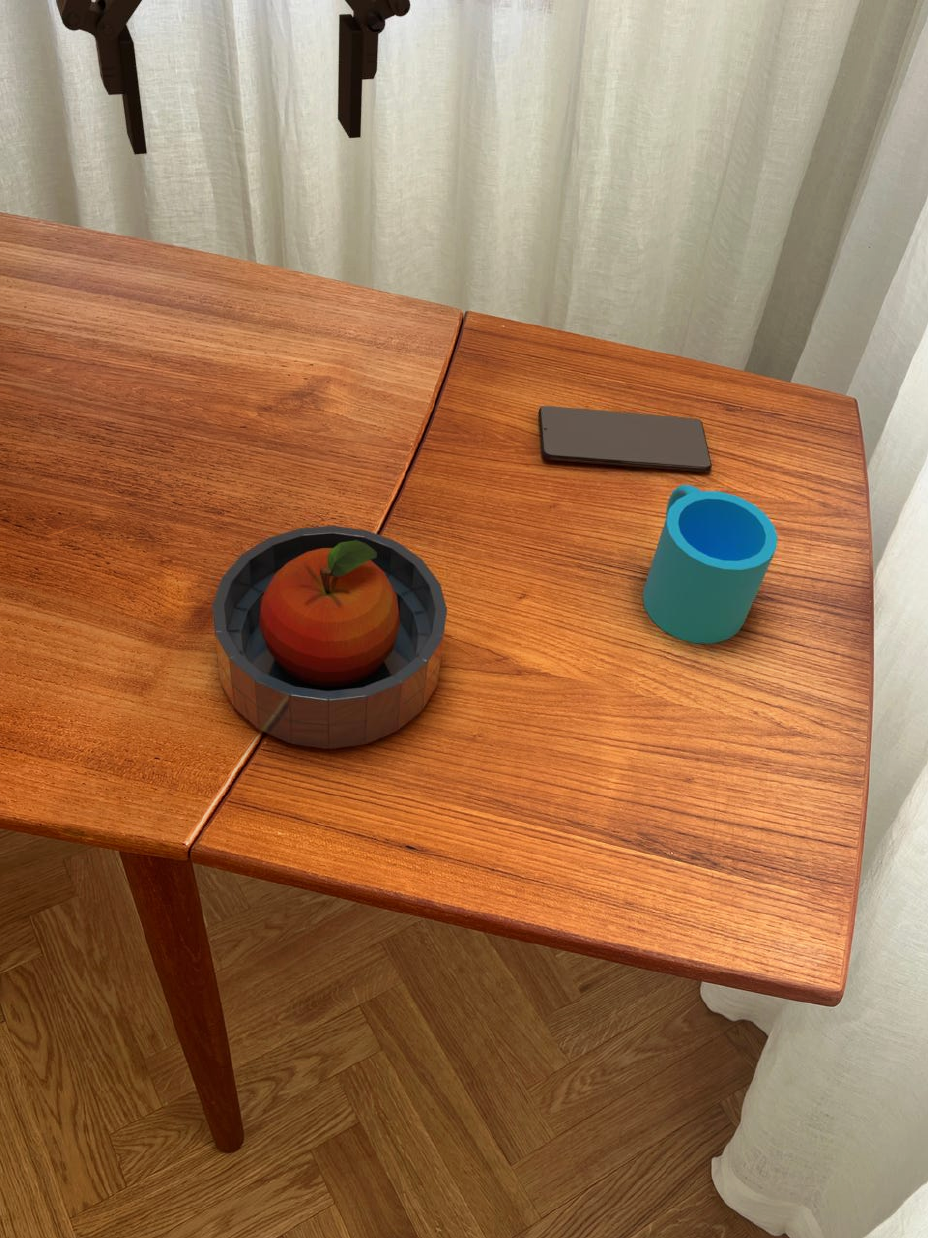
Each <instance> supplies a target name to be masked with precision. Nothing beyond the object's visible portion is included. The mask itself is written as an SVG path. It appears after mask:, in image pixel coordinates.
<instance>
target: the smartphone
mask: <svg viewBox="0 0 928 1238" xmlns="http://www.w3.org/2000/svg"><path fill="white" fill-rule="evenodd" d="M537 413H538V415H537V416H538V427H539V439H540V448H541V449H540V450H541V456H542V458H544V459H545V460H547V461H554V462H555V461H556V462H567V463H581V464H593V465H594V464H595V465H605V466H606V465H607V466H616V467H617V466H618V467H621V466H622V467H630V468H642V469H643V468H644V469H655V470H656V469H657V470H666V471H667V470H668V471H683V472H693V473H694V472H695V473H708V472H711V470H712V467H713V464H712V460H711V455H710V451H709V448H708V442H707V437H706V433H705V429H704V424H703V421H702V420H700V419H699V418H695V417H684V416H673V415H672V416H671V415H659V414H650V413H649V414H647V413H636V412H623V411H612V410H598V409H589V408H588V409H587V408H575V407H564V406H554V405H553V406H551V405H542V406H540V407H539V409H538V412H537Z"/></svg>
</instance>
